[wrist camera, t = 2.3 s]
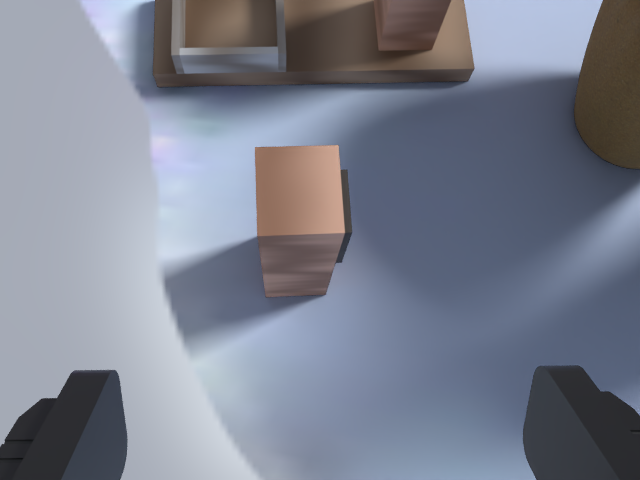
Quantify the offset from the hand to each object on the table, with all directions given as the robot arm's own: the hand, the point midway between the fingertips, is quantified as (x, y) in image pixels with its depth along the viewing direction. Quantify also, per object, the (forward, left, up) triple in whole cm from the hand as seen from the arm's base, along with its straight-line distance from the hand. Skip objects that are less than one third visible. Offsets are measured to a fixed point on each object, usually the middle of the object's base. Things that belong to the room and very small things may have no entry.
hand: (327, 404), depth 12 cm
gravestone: (-2, -25, -23) cm, 34 cm away
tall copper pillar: (0, -9, -23) cm, 25 cm away
